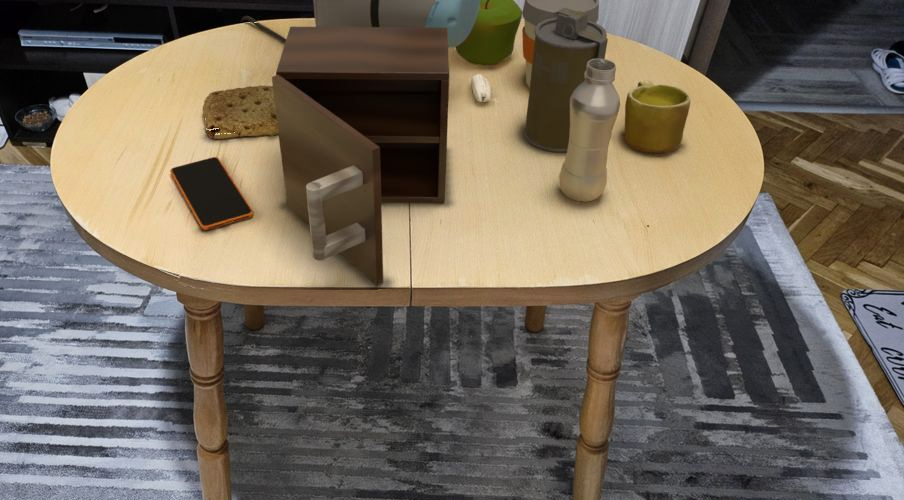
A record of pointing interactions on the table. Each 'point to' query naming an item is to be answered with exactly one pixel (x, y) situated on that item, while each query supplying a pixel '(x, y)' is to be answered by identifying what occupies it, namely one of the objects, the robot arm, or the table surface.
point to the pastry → (241, 112)
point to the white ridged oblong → (481, 88)
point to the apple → (492, 33)
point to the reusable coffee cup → (540, 8)
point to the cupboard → (382, 96)
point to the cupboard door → (331, 180)
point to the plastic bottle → (590, 132)
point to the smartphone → (211, 193)
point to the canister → (559, 74)
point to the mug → (655, 117)
